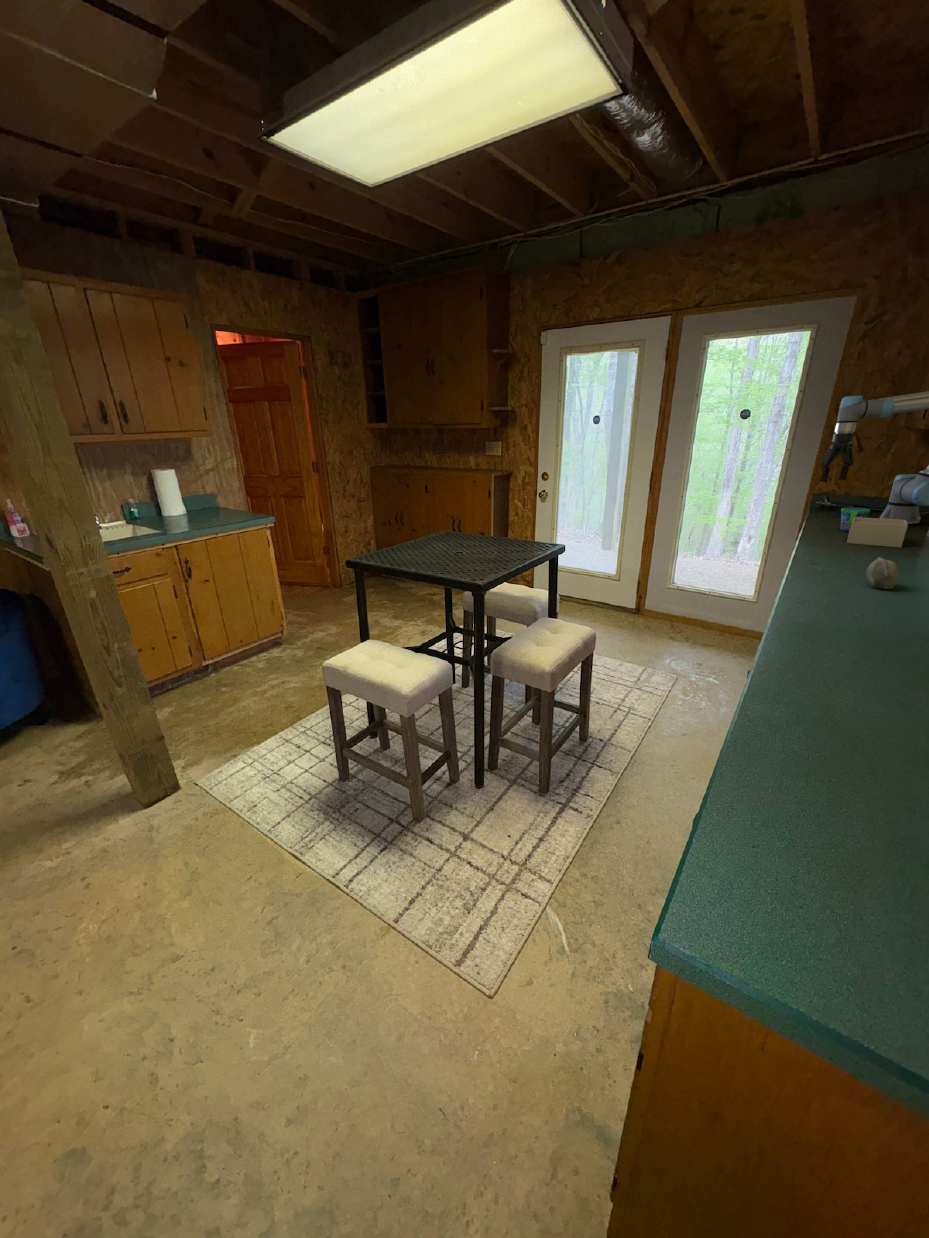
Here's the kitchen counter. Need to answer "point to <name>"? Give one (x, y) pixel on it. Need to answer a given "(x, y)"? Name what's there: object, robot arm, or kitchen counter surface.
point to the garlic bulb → (882, 574)
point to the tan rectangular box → (877, 531)
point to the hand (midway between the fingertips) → (832, 480)
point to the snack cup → (851, 516)
